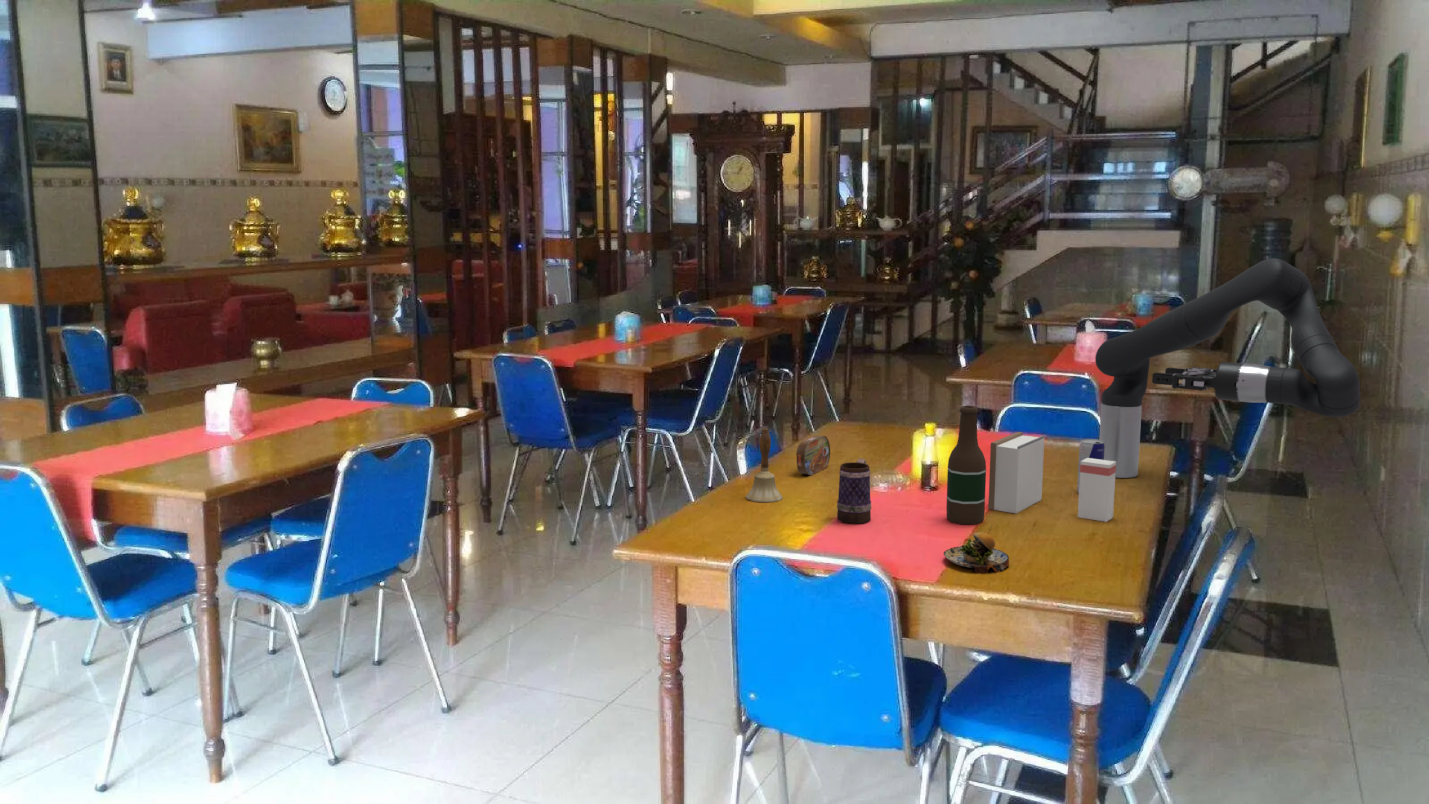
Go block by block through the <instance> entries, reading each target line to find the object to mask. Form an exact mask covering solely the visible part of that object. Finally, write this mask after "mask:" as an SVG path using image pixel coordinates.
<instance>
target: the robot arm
mask: <svg viewBox="0 0 1429 804" xmlns="http://www.w3.org/2000/svg"><path fill="white" fill-rule="evenodd" d="M1257 301H1258V302H1260V303H1262V304H1264V305H1266V306H1267V307H1269V308H1271V309H1273V310H1276V311H1278V313H1280V315H1282V316H1283V318H1285V320H1286V321H1287V322H1288V323H1289V325H1290V327H1291V333H1290V335H1291V336H1290V342H1291V347H1292V350H1293V351H1294V354H1295V355H1296V357H1297V360H1298V361H1299V364H1300V365H1301V367H1302V369H1303V371H1304V372H1305V373H1306V374H1307V375H1308V376H1310V377H1311V378H1314V381H1315V383H1314V382H1312V381H1310V380H1308V379H1307V378H1306V376H1305V373H1303V371H1301V370H1300V369H1299V368H1293V367H1282V366H1281V367H1279V366H1267V365H1264V364H1257V363H1245V362H1230V361H1229V362H1228V361H1222V362H1220V363H1219V364H1218V365H1217V368H1208V367H1207V368H1206V367H1197V366H1193V367H1186V368H1177V367H1167V368H1165V370H1164V371H1165V372H1154V373H1152V378H1151V383H1152V384H1154V385H1162V386H1163V385H1164V386H1171V388H1172V389H1183V390H1192V391H1193V390H1194V391H1195V390H1196V391H1200V392H1201V391H1206V390H1207V389H1211V388H1213V389H1214V394H1215V397H1216V398H1217V399H1218V400H1222V401H1233V402H1242V403H1243V402H1244V403H1254V404H1255V403H1256V404H1257V403H1265V404H1266V403H1269V404H1276V405H1277V404H1279V405H1290V406H1293V407H1297V408H1299V409H1301V410H1305V411H1308V412H1311V413H1314V414H1318V415H1320V416H1324V417H1329V418H1341V417H1342V418H1343V417H1348V416H1350V415H1352V414H1354V413H1355V412H1356V411H1358V410H1359V408H1360V405H1361V388H1360V387H1361V386H1360V385H1361V383H1360V376H1359V373H1358V371H1357V370H1356V368H1355V366H1354V364H1353V363H1352V362H1351V361H1350V360H1349V359H1348V358H1347V357H1346V356H1345V355H1343V354H1342V353H1341V350H1340V349H1339V348H1338V347H1339V346H1337V344H1336V342H1335V340H1334V338H1333V337H1332V335H1331V334H1330V331H1328V328H1327V326H1326V325H1325V322H1324V320H1323V317H1322V316H1321V313H1320V310H1319V306H1318V303H1317V299H1316V298H1315V294H1314V290H1313V287H1312V285H1311V282H1310V279H1309V278H1308V276H1307V275H1306V274H1305V273H1304V272H1302V270H1300V269H1298V268H1297V267H1295V266H1293V265H1291V264H1290V263H1288V262H1287V261H1285V260H1282V259H1280V258H1275V257H1271V258H1266V259H1264V260H1262V261H1259V262H1258V263H1256V264H1254V265H1252V266H1250V267H1249V268H1247V269H1246V270H1244V271H1242V272H1240V274H1238V275H1236V276H1235V277H1233V278H1232V279H1230V280H1227V282H1225V283H1223V284H1222V285H1220V286H1218V287H1216V288H1214V289H1212V290H1210V291H1209V292H1206V293H1205V294H1203V295H1201V296H1199V297H1197V298H1194V299H1192V300H1190V301H1187V302H1185V303H1183V304H1181V305H1179V306H1177V307H1176V308H1173V309H1172V310H1170V311H1167V313H1166V312H1165V314H1162V315H1160V316H1158V317H1157V318H1155V319H1153V320H1152V321H1149V322H1148V323H1147V324H1144V325H1143V326H1141V327H1139V328H1137V329H1135V330H1132V331H1130V332H1127V333H1124V334H1122V335H1119V336H1118V335H1117V336H1115V337H1112V338H1110V339H1107V340H1105V341H1104V342H1103V343H1102V344H1101V345H1100V346H1099V347H1098V349H1097V350H1096V354H1095V366H1096V367H1097V369H1098V370H1099V371H1100V372H1101V373H1102V374H1104V375H1106V376H1109V377H1113V380H1112V382H1111V383H1110V385H1109V386H1108V387H1107V388H1106V389H1104V390H1103V391H1102V393H1101V398H1100V422H1099V439H1098V440H1101V441H1103V442H1104V445H1105V449H1104V460H1108V461H1115V462H1116V473H1115V478H1119V479H1125V478H1126V479H1127V478H1129V479H1130V478H1135V477H1137V476H1138V474H1139V459H1140V458H1139V457H1140V445H1141V443H1140V441H1141V427H1142V426H1141V423H1142V410H1143V409H1142V408H1143V399H1144V396H1145V394H1146V392H1147V389H1148V378H1149V373H1150V372H1149V371H1150V370H1149V369H1150V359H1151V358H1154V357H1157V356H1161V355H1165V354H1170V353H1174V352H1177V351H1181V350H1184V349H1187V348H1190V347H1193V346H1196V345H1197V344H1200V343H1202V342H1204V341H1207V340H1209V339H1212V338H1213V337H1215V336H1216V335H1217V334H1219V333H1220V331H1221V330H1222V329H1223V328H1224V326H1225V325H1226V323H1227V321H1228V319H1229V317H1230V315H1231V314H1232V313H1233V312H1234V311H1235V310H1237V309H1239V308H1240V307H1242V306H1244V305H1247V304H1249V303H1252V302H1257ZM1180 380H1182V382H1181V383H1180Z"/></svg>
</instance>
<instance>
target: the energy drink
mask: <svg viewBox="0 0 1429 804" xmlns="http://www.w3.org/2000/svg"><path fill="white" fill-rule="evenodd" d="M1104 449H1105V445H1104V442H1103V441H1101V440H1099V439H1093V438H1084V439H1081V440H1080V443H1079V451H1078V452H1079V453H1078V471H1077V472H1078V473H1077V493H1078V494H1079V483H1080V464H1081V461H1082V460H1084V459H1086V458H1093V459H1100V460H1104Z"/></svg>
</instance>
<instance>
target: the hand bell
mask: <svg viewBox="0 0 1429 804" xmlns="http://www.w3.org/2000/svg"><path fill="white" fill-rule="evenodd" d="M758 445H759V451H760V457H761V461H760V471H758V472H757V473H756V472H755V474H754V478H753V484H752V486H751V489H750V490H749V492H748V493H746V495H745V499H746V500H748V501H751V502H754V503H775V502H776V503H777V502H779V501H782V500H783V498H784V497H783V495H782V493H780V491H779V490H778V488H777V485H776V484H777V483H776V478H775V474H774V473H772V472H770V471H769V465H770V464H769V454H770V451H771V445H772V440H771V435H770V431H769V428H767V427H762V430H761V433H760V436H759V442H758Z"/></svg>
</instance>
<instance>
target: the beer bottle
mask: <svg viewBox="0 0 1429 804" xmlns="http://www.w3.org/2000/svg"><path fill="white" fill-rule="evenodd" d="M959 412H960V418H959V426H958V438H957V442H956V445H955V447H954V448H953V449H952V451H951V453H950V455H949V457H948V463H947V476H946V477H947V478H946V479H947V480H946V481H947V482H946V485H947V486H946V518H947V520H949V522H950V523H953V524H957V525H963V526H964V525H965V526H967V525H972V526H973V525H978V524H980V523H982V522H984V521H985V509H986V508H985V506H986V480H987V465H986V464H987V462H986V461H987V460H986V457H985V454H984V453H983V451H982V450H981V448H980V446H979V443H978V421H977V420H978V419H977V417H978V415H977V414H978V413H979V409H978V407H976V406H974V405H963V406H960V408H959Z"/></svg>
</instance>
